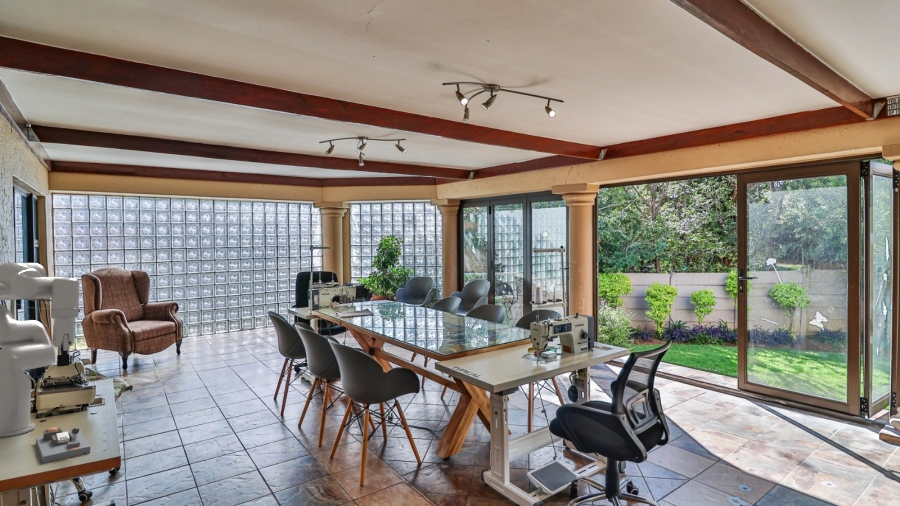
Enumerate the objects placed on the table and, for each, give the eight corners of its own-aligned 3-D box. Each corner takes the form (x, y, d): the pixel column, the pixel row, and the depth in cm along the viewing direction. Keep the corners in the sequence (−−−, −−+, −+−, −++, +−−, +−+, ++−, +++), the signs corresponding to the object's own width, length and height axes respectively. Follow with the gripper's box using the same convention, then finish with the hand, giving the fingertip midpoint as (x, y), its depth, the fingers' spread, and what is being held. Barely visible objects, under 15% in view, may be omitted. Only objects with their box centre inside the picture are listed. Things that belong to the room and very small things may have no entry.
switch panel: (35, 443, 163) (36, 430, 163) (79, 434, 171) (79, 422, 172) (42, 463, 148) (43, 448, 148) (90, 452, 156) (90, 438, 156)
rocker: (56, 436, 160) (56, 433, 160) (67, 434, 162) (67, 431, 162) (57, 443, 157) (58, 440, 157) (69, 441, 159) (69, 437, 159)
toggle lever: (69, 438, 156) (71, 427, 153) (77, 436, 157) (79, 425, 155) (70, 443, 155) (72, 432, 152) (77, 442, 156) (80, 430, 154)
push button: (46, 437, 163) (46, 428, 163) (57, 435, 165) (57, 426, 165) (47, 439, 161) (47, 430, 161) (58, 437, 163) (58, 428, 163)
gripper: (48, 312, 166) (46, 363, 166) (53, 316, 156) (51, 371, 156) (75, 310, 172) (73, 360, 171) (81, 314, 161) (80, 367, 161)
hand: (63, 365), depth 163 cm, fingers closed
